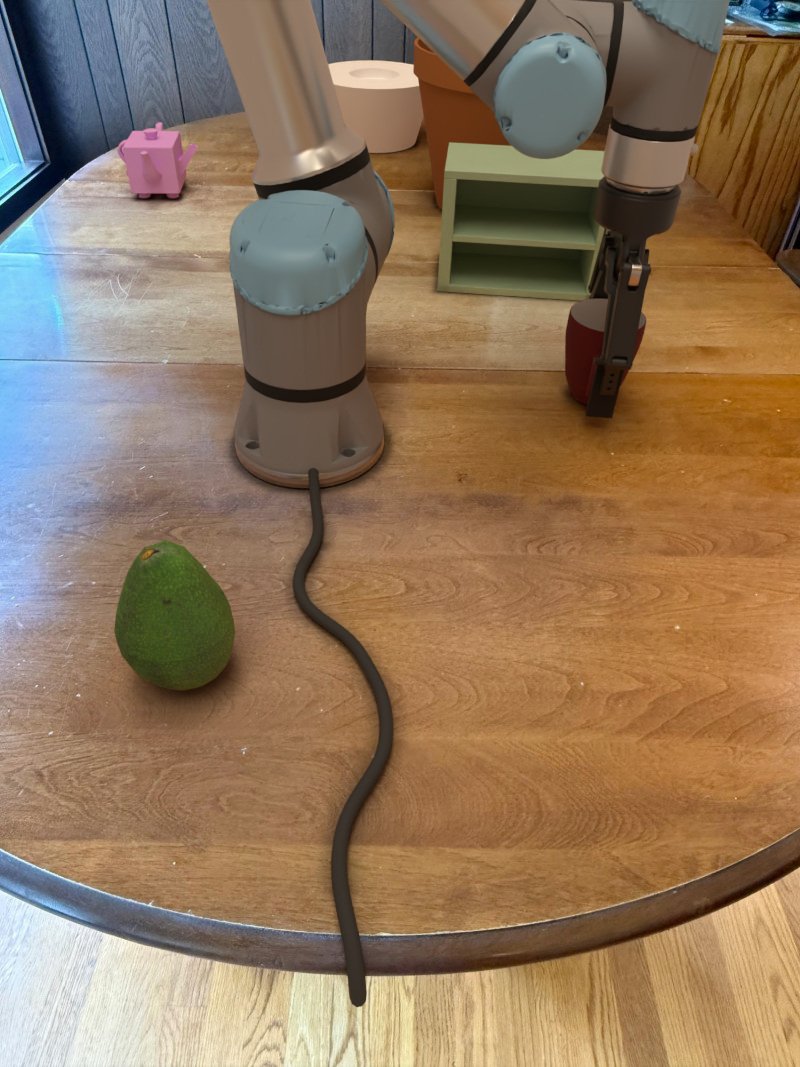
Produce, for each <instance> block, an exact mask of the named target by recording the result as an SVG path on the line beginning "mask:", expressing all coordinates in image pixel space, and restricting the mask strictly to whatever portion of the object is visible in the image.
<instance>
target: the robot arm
mask: <svg viewBox="0 0 800 1067" xmlns="http://www.w3.org/2000/svg"><path fill="white" fill-rule="evenodd" d="M205 1H206V4H207V7H208V9H209V12H210V15H211V19H212V21H213V24H214V27H215V29H216V32H217V35H218V38H219V41H220V44H221V47H222V50H223V52H224V56H225V58H226V61H227V64H228V67H229V69H230V73H231V76H232V79H233V81H234V85H235V87H236V90H237V93H238V96H239V99H240V101H241V104H242V107H243V110H244V113H245V116H246V118H247V121H248V124H249V127H250V130H251V133H252V136H253V138H254V141H255V144H256V147H257V150H258V157H257V161H256V163H255V165H254V168H253V170H252V173H251V175H250V176H251V181H252V184H253V186H254V189H255V192H256V194H257V198H258V199H256V200H254V201H253V202H251V203H249V204H248V205H247V206H245V207H244V208H243V209H242V210H241V211H240V212H239V213H238V214H237V216H236V217H235V219H234V220H233V223H232V224H231V227H230V232H229V253H228V262H229V264H228V269H229V273H230V278H231V279H232V287H233V293H234V302H235V309H236V318H237V324H238V332H239V339H240V346H241V347H240V348H241V355H242V362H243V369H244V370H243V371H244V379H245V381H244V386H243V391H242V394H241V397H240V398H241V399H240V403H239V407H238V411H237V415H236V419H235V423H234V429H233V440H234V446H235V453H236V456H237V458H238V461H239V462H240V464H241V465H242V467H243V468H245V470H246V471H248V473H250V474H252V475H253V476H254V477H257V478H258V479H260V480H263V481H265V482H267V483H270V484H273V485H277V486H281V487H286V488H294V489H309V501H310V502H309V503H310V509H311V516H312V532H311V536H310V539H309V542H308V544H307V546H306V548H305V549H304V552H302V554H301V556H300V558H299V560H298V561H297V564H296V566H295V568H294V572H293V576H292V591H293V594H294V597H295V599H296V601H297V603H298V605H299V606H300V608H301V609H302V610H303V612H304V613H305V614H306V615H307V616H309V617H310V619H312V620H313V621H314V622H315V623H317V625H319V626H320V627H322V628H323V629H324V630H326V631H327V632H329V633H330V634H332V635H333V636H334V637H335V638H337V639H338V640H339V641H341V642H342V643H343V644H344V645H345V646H346V647H347V648H348V649H349V650H350V651H351V653H352V654H353V656H354V657H355V659H356V661H357V662H358V664H359V666H360V668H361V670H362V671H363V673H364V675H365V677H366V679H367V680H368V683H369V685H370V687H371V690H372V692H373V695H374V698H375V701H376V706H377V711H378V723H379V724H378V725H379V726H378V727H379V729H378V730H379V731H378V739H377V740H378V741H377V746H376V749H375V752H374V755H373V757H372V760H371V761H370V763H369V765H368V766H367V769H366V770H365V771H364V773H363V775H362V776H361V778H360V779H359V781H358V782H357V783H356V785H355V786H354V788H353V790H352V791H351V793H350V794H349V796H348V798H347V800H346V802H345V803H344V806H343V808H342V810H341V812H340V814H339V817H338V820H337V823H336V826H335V828H334V834H333V838H332V846H331V855H330V856H331V857H330V876H331V887H332V894H333V901H334V907H335V910H336V916H337V921H338V925H339V931H340V936H341V941H342V946H343V951H344V959H345V965H346V966H345V967H346V975H347V986H348V998H349V1000H350V1004H351V1005H353V1006H354V1007H356V1008H361V1007H363V1006H364V1005H365V1003H366V1002H367V998H368V993H367V992H368V990H367V980H366V970H365V961H364V954H363V948H362V942H361V937H360V932H359V927H358V922H357V918H356V914H355V910H354V906H353V905H354V904H353V900H352V896H351V890H350V884H349V875H348V850H349V849H348V848H349V847H348V846H349V841H350V840H349V839H350V835H351V830H352V827H353V824H354V820H355V819H356V816H357V814H358V812H359V811H360V808H361V807H362V805H363V803H364V802H365V800H366V798H367V797H368V795H369V793H370V792H371V790H372V789H373V787H374V786H375V784H376V782H377V781H378V779H379V777H380V776H381V774H382V773H383V770H384V769H385V766H386V764H387V762H388V760H389V756H390V754H391V749H392V745H393V738H394V737H393V736H394V715H393V708H392V703H391V699H390V695H389V692H388V689H387V686H386V684H385V681H384V680H383V678H382V675H381V674H380V672H379V670H378V668H377V666H376V665H375V663H374V661H373V660H372V658H371V656H370V654H369V653H368V651H367V650H366V649H365V647H364V646H363V644H362V643H361V642H360V641H359V640H358V638H356V636H355V635H353V633H351V631H349V630H348V629H347V628H345V626H343V625H342V624H340V623H339V622H338V621H336V620H335V619H333V618H332V617H331V616H329V615H327V614H326V613H325V612H323V611H322V610H321V609H320V608H318V606H316V605H315V604H314V603H313V601H312V600H311V599H310V597H309V595H308V593H307V590H306V585H305V576H306V574H307V571H308V569H309V567H310V565H311V563H312V561H313V559H314V558H315V557H316V555H317V552H318V551H319V548H320V546H321V544H322V539H323V535H324V527H325V526H324V523H325V522H324V512H323V507H322V498H321V497H322V496H321V488H327V487H332V486H336V485H340V484H343V483H346V482H349V481H351V480H354V479H356V478H358V477H360V476H362V475H364V474H365V473H366V472H367V471H369V470H370V469H371V468H372V467H374V465H375V464H376V463H377V462H378V461H379V459H380V457H381V456H382V454H383V452H384V447H385V425H384V422H383V418H382V414H381V413H380V410H379V407H378V405H377V402H376V399H375V396H374V394H373V390H372V388H371V386H370V383H369V380H368V378H367V310H368V304H369V301H370V298H371V296H372V292H373V290H374V288H375V286H376V283H377V280H378V278H379V276H380V274H381V271H382V269H383V266H384V264H385V262H386V259H387V257H388V256H389V254H390V251H391V248H392V245H393V241H394V236H395V231H394V230H395V228H396V226H395V222H396V221H395V207H394V203H393V200H392V197H391V193H390V191H389V188H388V186H387V185H386V183H385V181H384V180H383V178H382V177H381V176H380V175H379V173H377V171H376V170H375V169H374V167H373V163H372V160H371V156H370V153H369V152H368V148H367V144H366V142H365V139H364V138H363V137H362V136H360V135H358V134H357V133H355V132H354V131H352V130H350V129H349V128H347V126H346V125H345V124H344V120H343V116H342V113H341V109H340V105H339V102H338V98H337V95H336V91H335V87H334V84H333V80H332V77H331V73H330V69H329V66H328V64H329V63H328V59H327V55H326V51H325V48H324V45H323V41H322V38H321V34H320V29H319V26H318V23H317V19H316V15H315V13H314V12H315V11H314V8H313V6H312V2H311V1H312V0H205ZM379 1H380V2H381V3H382V4H383V5H384V6H385V7H386V8H387V10H389V11H390V12H391V13H392V14H393V15H394V16H395V17H396V18H397V19H398V20H399V21H401V22H402V23H403V24H404V26H406V27H407V28H408V29H409V30H410V31H411V32H412V33H413V34H414V35H415V36H416V38H417V37H418V38H419V39H420V40H421V41H422V42H423V43H424V44H426V45H427V46H428V47H429V48H430V49H431V50H432V51H433V52H434V53H435V54H436V55H437V56H438V57H439V58H440V59H441V60H442V61H443V62H444V63H445V64H446V65H447V66H448V67H449V68H450V69H451V70H452V71H453V72H454V73H456V74H457V75H458V76H459V77H460V78H461V79H462V80H463V81H464V82H465V83H466V84H467V85H468V86H469V88H470V89H471V90H472V91H473V92H474V93H475V94H476V95H477V96H478V97H479V98H480V99H481V100H482V101H483V102H484V103H485V104H486V105H487V106H488V107H489V108H490V109H491V110H492V111H493V112H494V114H495V118H496V121H497V123H498V125H499V126H500V128H501V131H502V133H503V135H504V137H505V138H506V140H507V141H508V142H509V144H510V145H511V146H513V147H514V148H515V149H516V150H517V151H519V152H520V153H522V154H524V155H526V156H529V157H532V158H537V159H553V158H557V157H561V156H564V155H566V154H568V153H570V152H572V151H573V150H577V149H578V148H579V147H580V146H582V145H583V144H584V143H585V142H587V140H588V139H589V137H590V136H591V135H592V134H593V132H594V130H595V129H596V127H597V125H598V123H599V121H600V119H601V116H602V113H603V109H604V107H613V109H612V115H611V119H610V123H609V125H608V130H607V135H606V139H605V140H606V142H605V145H604V150H603V151H604V156H603V161H602V167H601V171H602V173H603V175H604V177H603V178H602V179H601V180H600V181H599V185H598V190H597V195H596V200H595V205H594V210H593V217H594V219H595V221H596V222H597V223H598V224H599V225H600V226H602V227H603V228H605V229H604V234H603V237H602V241H601V244H600V248H599V252H598V255H597V259H596V263H595V266H594V270H593V274H592V277H591V281H590V285H589V286H588V290H589V293H591V295H590V297H589V299H595V298H602V299H608V304H607V312H606V321H605V329H604V338H603V346H602V354H601V357H600V358H593V364H596V369H595V373H594V378H593V382H592V386H591V391H590V395H589V400H588V404H586V407H585V408H586V409H585V417H589V418H601V419H603V418H604V419H613V415H614V412H615V407H616V403H617V400H618V396H619V392H620V388H621V386H622V385H621V381H622V377H623V373H624V370H629V371H630V370H632V367H633V364H634V361H633V355H634V350H635V344H636V339H637V333H638V327H639V322H640V316H641V312H643V310H642V309H643V306H644V305H643V304H644V298H645V294H646V289H647V286H648V282H649V277H650V275H651V273H652V268H651V263H649V260H650V249H649V248H647V241H648V239H649V238H651V237H652V236H655V235H661V234H663V233H666V232H668V231H669V230H670V229H671V228H672V226H673V225H674V221H675V217H676V214H677V210H678V206H679V202H680V198H681V195H682V190H681V188H680V186H679V185H680V184H681V183H683V182H684V180H685V176H686V173H687V170H688V166H689V159H690V157H691V156H696V155H697V154H698V151H699V150H700V149H699V145H698V144H697V143H695V140H696V139H695V138H696V135H697V131H698V127H699V125H700V120H701V117H702V113H703V109H704V106H705V102H706V99H707V95H708V92H709V88H710V84H711V81H712V78H713V74H714V70H715V66H716V63H717V58H718V55H719V54H720V53H721V50H722V46H721V44H722V39H723V34H724V29H725V25H726V19H727V15H728V11H729V6H730V2H731V0H631V1H629V0H628V1H625V0H624V1H622V2H616V1H615V2H602V1H590V0H589V1H588V0H379ZM620 385H621V386H620Z"/></svg>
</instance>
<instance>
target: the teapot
mask: <svg viewBox="0 0 800 1067" xmlns="http://www.w3.org/2000/svg"><path fill="white" fill-rule="evenodd" d="M163 128H164V127H163V122H160V121H159V122H157V123H155V127H154V128H153V127H152V128H151V127H150V128H145V129H143V130H132V131H131V133H130V134H129V136H128V138H127V139H123V140H122V141H121V142H120V143H119V144H118V146H117V153H118V156H119V158H120V159H121V160H122V162H123V163H124V164H125V168H126V170H125V173H126V176H127V178H128V184H129V187H130V194H138V198H140V199H148V198H150V197H152V196H151V195H152V194H166V197H167V198H168V199H176V198H179V197H180V195H179V194H180V193H181V191H182V188H183V187H184V184H185V180H186V178H187V170H186V168H187V167H188V166H189V163H190V162H191V160H192V159H193V157H194V155H195V153H196V152H197V150H198V147H199V145H198V144H194V143H190V144H189V146H188V147H187V148H186V149H185V151H184V149H183V142H182V136H181V131H180V130H164V129H163Z"/></svg>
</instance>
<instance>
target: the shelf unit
mask: <svg viewBox="0 0 800 1067" xmlns="http://www.w3.org/2000/svg"><path fill="white" fill-rule="evenodd" d="M604 151H605V150H593V149H591V150H590V149H575V150H573V151H572V152H570V153H568V154H566V155H564V156H561V157H557V158H553V159H537V158H532V157H529V156H526V155H524V154H522V153H520V152H519V151H517V150H516V149H515V148H514V147H513V146H505V145H487V144H469V143H452V142H449V146H448V153H447V159H446V165H445V173H444V189H443V205H442V209H441V221H440V222H441V223H440V238H439V256H438V271H437V285H436V286H437V288H436V291H437V292H444V293H457V294H458V293H459V294H471V295H472V294H474V295H486V296H487V295H489V296H503V297H504V296H505V297H519V298H534V299H546V300H547V299H549V300H562V301H563V300H564V301H576V302H580V301H582V300H586V299H589V297H590V295H591V293H589V290H588V286H589V285H590V281H591V277H592V274H593V270H594V266H595V263H596V259H597V255H598V252H599V248H600V244H601V241H602V237H603V234H604V229H605V228H603V227H602V226H600V225H599V224H598V223H597V222H596V221H595V219H594V217H593V210H594V205H595V200H596V195H597V190H598V185H599V181H600V180H601V179H602V178H603V177H604V175H603V173H602V171H601V167H602V161H603V156H604Z"/></svg>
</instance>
